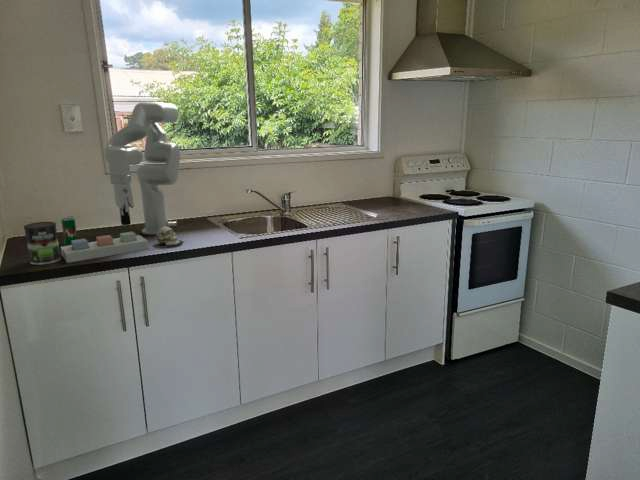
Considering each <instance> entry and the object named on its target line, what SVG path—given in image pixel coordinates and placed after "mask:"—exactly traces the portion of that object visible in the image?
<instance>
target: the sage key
mask: <svg viewBox="0 0 640 480" xmlns="http://www.w3.org/2000/svg"><path fill="white" fill-rule="evenodd" d="M136 235H137V234H136V233H135V232H134V231H127V232H121V233H119V238H120V239H121V242H123V243H125V242H131V241H137V240H136Z"/></svg>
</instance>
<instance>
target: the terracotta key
mask: <svg viewBox="0 0 640 480" xmlns="http://www.w3.org/2000/svg"><path fill="white" fill-rule="evenodd" d="M95 238H96V241H97V245H98V246H99V247H100V246H106V245H112V244H113V239H114V238H113V236H111V235H110V234H108V235H100V236H96V237H95Z"/></svg>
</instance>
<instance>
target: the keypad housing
mask: <svg viewBox="0 0 640 480" xmlns="http://www.w3.org/2000/svg"><path fill="white" fill-rule="evenodd" d="M136 240H137V241H131V242H125V243H123V242H121V239H120V237H117V238H113V244H112V245H106V246H100V247H99V246H98V245H97V240H96V241H91V242H89V241H88V245H89V248H87V249H81V250H74V251H73V249H72V245H69V246H67V245H63V246H60V253H61V255H62V256H61V257H63V259H64V260H65V262H66V263H67V264H68V263H74V262H81V261H86V260H87V261H88V260H92V259H98V258H104V257H109V256H114V255H115V256H116V255H121V254H127V253H131V252H132V253H134V252H139V251H143V250H144V251H146V250H149V249H150V247H149V240H147V238H144V237H143V236H142V235H140V234H136Z"/></svg>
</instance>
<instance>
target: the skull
mask: <svg viewBox="0 0 640 480" xmlns="http://www.w3.org/2000/svg"><path fill="white" fill-rule="evenodd" d="M155 236H156V240H157V242H158V243H155V244H153V247H155V248H170V247H175V246H176V247H177V246H180V245H182V244H183V243H184V241H183V240H179V239H178V237H177V233H176V232H175V231H174V229H173V228H171V226H170V227H163V228H161V229H160V230H159V231H158V232H157V234H155Z"/></svg>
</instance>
